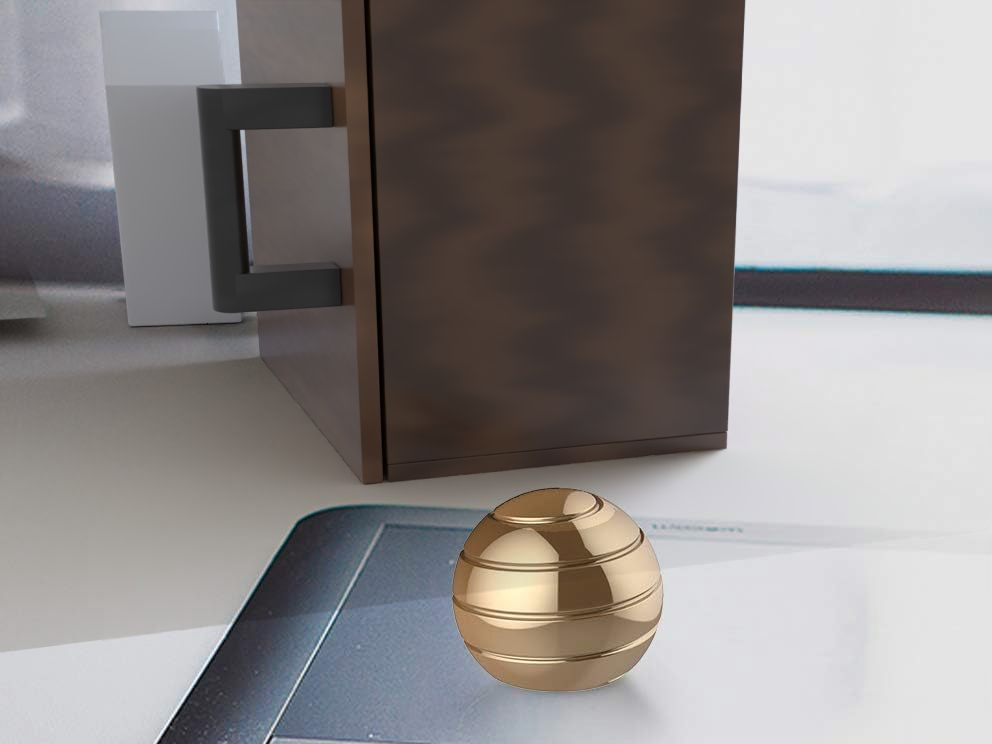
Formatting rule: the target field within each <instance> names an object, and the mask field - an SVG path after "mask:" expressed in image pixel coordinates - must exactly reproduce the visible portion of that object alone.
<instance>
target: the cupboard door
mask: <svg viewBox="0 0 992 744" xmlns="http://www.w3.org/2000/svg"><path fill="white" fill-rule="evenodd" d="M235 10H236V23H237V25H236V26H237V38H238V39H237V40H238V52H239V70H240V83H228V84H227V83H225V84H214V85H200V86H197V87H196V95H197V108H198V121H199V134H200V147H201V160H202V173H203V186H204V199H205V212H206V225H207V238H208V251H209V264H210V277H211V289H212V302H213V310H214V311H217V312H221V313H242V314H243V313H256V322H257V331H258V332H257V335H258V348H259V349H258V351H259V357H260V358H261V359H262V360H263V362H264V363H265V364H266V365H267V367H268V368H269V369H270V370H271V371H272V373H273V375H275V376H276V378H277V379H278V380H279V381H280V383H281V384H282V385H283V386H284V388H285V389H286V390H287V392H288V393H289V394H290V395H291V397H292V398H294V400H295V401H296V403H297V404H298V405H299V406H300V407H301V409H302V410H303V411H304V412H305V414H306V415H307V416H308V417H309V418H310V420H311V421H312V422H313V424H315V426H316V427H317V429H318V430H319V431H320V432H321V434H322V436H324V437H325V438H326V440H327V442H329V444H330V445H331V446H332V447H333V448H334V449H335V451H336V452H337V454H338V455H339V456H340V457H341V458H342V459H343V461H344V462H345V464H347V466H348V467H349V468H350V470H351V471H352V472H353V474H355V476H356V477H357V478H358V479H359V481H360V482H361V483H362V484H363V485H365V484H366V485H367V484H377V483H383V482H384V477H383V466H382V441H381V416H380V391H379V366H378V341H377V316H376V291H375V266H374V241H373V216H372V191H371V166H370V141H369V116H368V91H367V66H366V41H365V16H364V0H235ZM241 131H244V141H245V142H244V144H245V157H246V171H247V186H248V187H247V188H248V200H249V201H248V202H249V203H248V204H249V217H250V231H251V245H252V261H253V262H252V263H253V265H250V253H249V237H248V236H249V235H248V223H247V222H248V221H247V211H246V210H247V209H246V207H247V206H246V195H245V193H246V192H245V179H244V165H243V150H242V137H241V136H242V135H241Z"/></svg>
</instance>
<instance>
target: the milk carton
mask: <svg viewBox="0 0 992 744" xmlns="http://www.w3.org/2000/svg"><path fill="white" fill-rule="evenodd" d="M98 15H99V24H100V35H101V36H100V37H101V49H102V50H101V51H102V63H103V74H104V75H103V77H104V88H105V97H106V109H107V120H108V129H109V137H110V138H109V139H110V149H111V160H112V171H113V179H114V190H115V202H116V213H117V221H118V229H119V230H118V233H119V243H120V251H121V252H120V253H121V262H122V264H121V265H122V272H123V274H122V275H123V282H124V293H125V303H126V314H127V322H128V326H129V327H154V326H156V327H157V326H176V325H177V326H178V325H180V326H181V325H182V326H183V325H203V324H204V325H205V324H207V323H208V324H229V323H230V324H233V323H241V322H242V319H243V313H221V312H217V311H214V310H213V302H212V289H211V277H210V264H209V251H208V238H207V225H206V212H205V199H204V186H203V173H202V160H201V147H200V134H199V121H198V108H197V95H196V87H197V86H200V85H214V84H226V79H225V69H224V61H223V51H222V42H221V35H220V34H221V33H220V21H219V12H218V10H135V9H134V10H133V9H131V10H129V9H128V10H125V9H124V10H122V9H121V10H119V9H117V10H116V9H115V10H114V9H113V10H111V9H109V10H107V9H106V10H104V9H101V10H99V11H98Z"/></svg>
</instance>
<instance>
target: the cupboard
mask: <svg viewBox="0 0 992 744" xmlns="http://www.w3.org/2000/svg"><path fill="white" fill-rule="evenodd" d="M746 2H747V0H364V16H365V41H366V66H367V91H368V116H369V141H370V166H371V191H372V216H373V241H374V266H375V291H376V316H377V341H378V366H379V391H380V416H381V441H382V466H383V479H385V481H386V482H387V483H400V482H401V483H402V482H409V481H410V482H411V481H419V480H430V479H440V478H449V477H459V476H460V477H461V476H469V475H479V474H489V473H499V472H507V471H508V472H509V471H518V470H528V469H537V468H539V469H540V468H548V467H549V468H550V467H558V466H569V465H579V464H588V463H597V462H607V461H617V460H626V459H627V460H628V459H637V458H647V457H656V456H657V457H659V456H665V455H676V454H686V453H697V452H704V451H705V452H707V451H715V450H716V451H717V450H725V449H727V448H728V431H729V413H730V411H729V409H730V389H731V388H730V387H731V384H730V383H731V366H732V365H731V362H732V341H733V340H732V338H733V315H734V294H735V293H734V292H735V267H736V266H735V265H736V245H737V244H736V243H737V217H738V196H739V173H740V171H739V168H740V149H741V148H740V146H741V125H742V124H741V122H742V101H743V100H742V97H743V74H744V73H743V72H744V54H745V53H744V52H745V51H744V50H745V49H744V47H745V28H746V27H745V26H746V22H745V21H746Z"/></svg>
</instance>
